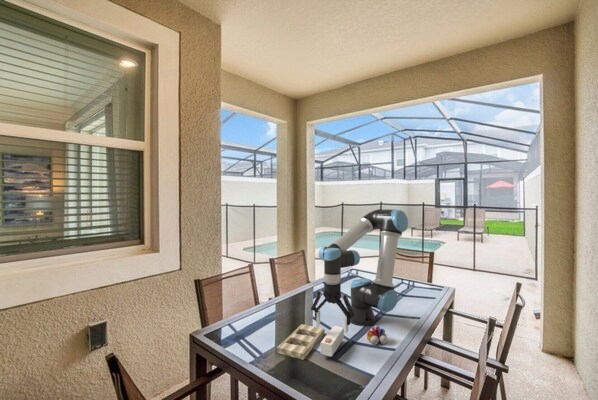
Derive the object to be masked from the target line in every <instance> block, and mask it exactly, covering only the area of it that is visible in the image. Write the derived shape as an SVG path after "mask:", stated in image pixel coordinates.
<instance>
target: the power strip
mask: <svg viewBox="0 0 598 400" xmlns="http://www.w3.org/2000/svg"><path fill="white" fill-rule="evenodd" d="M344 339H345V327H342V326H337V325H333V327H332V328H330V330H329V331H328V333H327V334H326V335H325V336H324V338H323V339H322V340H321V341H320V355H324V356H326V357H327V358H332V357H333V356H334V354H335V352H336V351H337V349H338V348H339V346H340V345H341V343H342V341H343V340H344Z"/></svg>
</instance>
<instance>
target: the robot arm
mask: <svg viewBox="0 0 598 400" xmlns="http://www.w3.org/2000/svg"><path fill="white" fill-rule="evenodd" d="M408 227H409V220H408V216H407V214H406V213H405V211H403V210H401V209H375V210H374V209H373V211H370V212H367V213H366V214H365V215H363V216H362V217H361V218H360V219H359V220H358V223H356V224H355V225H354V226H352V227H351V228H350V229H348V230H346V232H345V233H343V234H342V235H341V236H339V238H338V239H336V240H335V241H334V242H333V243H331V244H330V245H328V246H327V245H326V246H321V248H319V250H318V257H319V259H320V260H321V261H323V262H324V263H323V266H324V268H323V269H324V271H323V275H324V276H323V278H324V279H323V280H324V283H323V284H324V285H323V291H322V290H321V289H320V290H318V291H317V294H316V298H315V300H314V301H313V304H312V305H311V307H310V310H311V311H313V312H314V319H315V320H316V327H318V328H320V327H319V326H321V310H320V309H322V307H323V306H324V305H325V304H326V303H327V302H328V303H329V304H333V305H334V304H335V305H337V306H338V307H339V308H340V310H341V311H342V313H343V315H345V318H344V334H347V333H348V332H349V326H350V325H351V324H353V325H355V326H360V327H362V326H363V327H365V326H372V325H374V324H375V323H376V315H375V313H374V309H377V310H379V311H382V312H384V313H385V312H386V313H387V312H391V311H393V309H394V308H395V307H396V306H397V303H398V300H399V294H398V292H397V291H396V290H395V284H394V283H393V278H394V272H395V265H396V257H397V250H398V244H399V243H398V242H399V238H400V237H402V235H403V232H405V231H407V229H408ZM375 230H379V233H380V234H381V240H380V247H379V254H378V260H377V266H376V267H377V269H376V275H375V279H373V280H371V279H369V278H358V279H357V278H356V279H353V280H352V281H351V282H350V301H349V298H348V296H349V295H348V294H347V293H345V294H342V292H341V291H342V289H341V286H342V285H341V279H342V278H341V274H342V273H341V271H342V269H343V268H350V267H354V266H357V265H359V264H360V260H361V255H360V253H359V252H358V251H357V250H354V249H350V248H351V247H352V246H353V245H355V244H356V243H357V242H358V241H359V240H361V239H362V238H363V237H364V236H365V235H366V234H367V233H372V232H373V231H375ZM322 296H323V297H324V299H323V301H321V302H320V303H319V301H320V300H321V297H322ZM341 298H342V299H341ZM343 302H344V303H343ZM318 303H319V305H318ZM373 308H374V309H373Z"/></svg>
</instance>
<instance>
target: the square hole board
mask: <svg viewBox="0 0 598 400" xmlns="http://www.w3.org/2000/svg"><path fill="white" fill-rule="evenodd" d="M325 332H326V331H325V328H323V327H317V326H312V325H308V324H303V323H302V324H300V325H299V326H298V327H297V328H296V329H295V330H293V332H292V333H290V335H288V336H287V338H285V339H284V340H283V341H282V342H281V343H280V344H279V345H278V346H276V353H277V354H281V355H284V356H287V357H291V358H296V359H299V360H305V359H306V357H307V356H308V355H309V353H310V352H311V351H312V350H313V349H314V348H315V346H317V344H318V342H319V341H320V340H321V339H322V338H323V337H324V335H325Z"/></svg>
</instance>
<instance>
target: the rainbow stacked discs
mask: <svg viewBox="0 0 598 400" xmlns="http://www.w3.org/2000/svg"><path fill="white" fill-rule="evenodd" d="M366 340H367V341H370V343H371V344H372V345H374V346H375V345H378V344H379V343H380V344H382V345H385V344H387V343H388V337H387V334H386V330H385V329H384V328H383V327H382V328H381V327H380V326H379V325H377V326H376V327H374V326H371V330H370V329H368V330H367V333H366Z"/></svg>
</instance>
